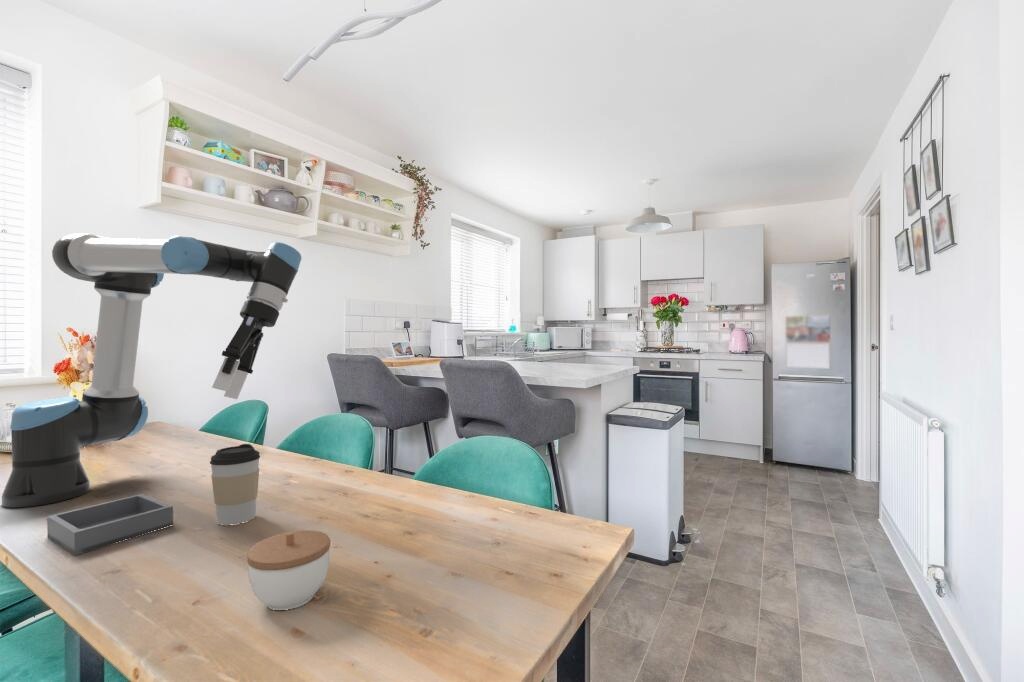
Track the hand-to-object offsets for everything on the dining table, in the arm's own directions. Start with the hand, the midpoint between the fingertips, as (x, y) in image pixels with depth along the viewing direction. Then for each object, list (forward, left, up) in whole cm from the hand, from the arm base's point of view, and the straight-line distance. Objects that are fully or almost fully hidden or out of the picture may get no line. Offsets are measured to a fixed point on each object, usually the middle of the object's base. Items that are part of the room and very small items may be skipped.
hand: (225, 394), depth 101 cm
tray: (-9, -17, -26) cm, 32 cm away
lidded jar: (+44, -13, -26) cm, 52 cm away
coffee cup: (+6, -1, -26) cm, 27 cm away
